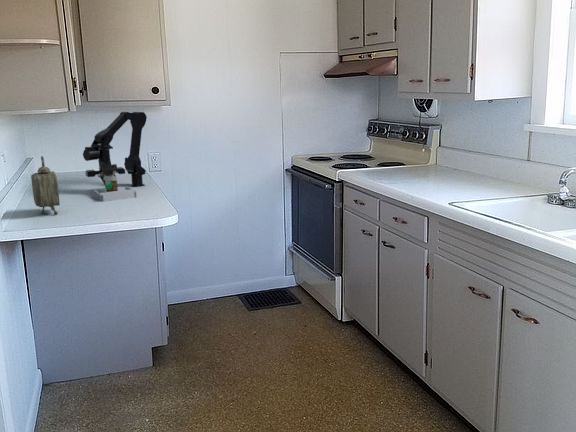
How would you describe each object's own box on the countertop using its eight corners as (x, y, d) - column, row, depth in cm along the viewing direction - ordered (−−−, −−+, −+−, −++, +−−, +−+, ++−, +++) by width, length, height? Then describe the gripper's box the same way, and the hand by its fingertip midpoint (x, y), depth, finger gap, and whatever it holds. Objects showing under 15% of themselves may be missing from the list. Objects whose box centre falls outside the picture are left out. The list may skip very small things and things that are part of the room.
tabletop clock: (61, 215, 247) (54, 157, 241) (38, 218, 243) (31, 159, 237) (56, 208, 260) (50, 153, 254) (35, 211, 256) (28, 155, 250)
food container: (104, 192, 293) (102, 173, 291) (116, 191, 295) (114, 172, 293) (105, 197, 282) (103, 177, 280) (118, 196, 284) (116, 176, 282)
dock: (93, 195, 285) (92, 188, 284) (127, 192, 294) (127, 184, 293) (101, 201, 273) (100, 193, 272) (136, 197, 282) (135, 189, 281)
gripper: (88, 162, 280) (91, 193, 284) (126, 158, 289) (129, 189, 293) (83, 159, 290) (86, 189, 293) (121, 156, 299) (123, 185, 303)
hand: (106, 188), depth 295 cm, fingers closed
